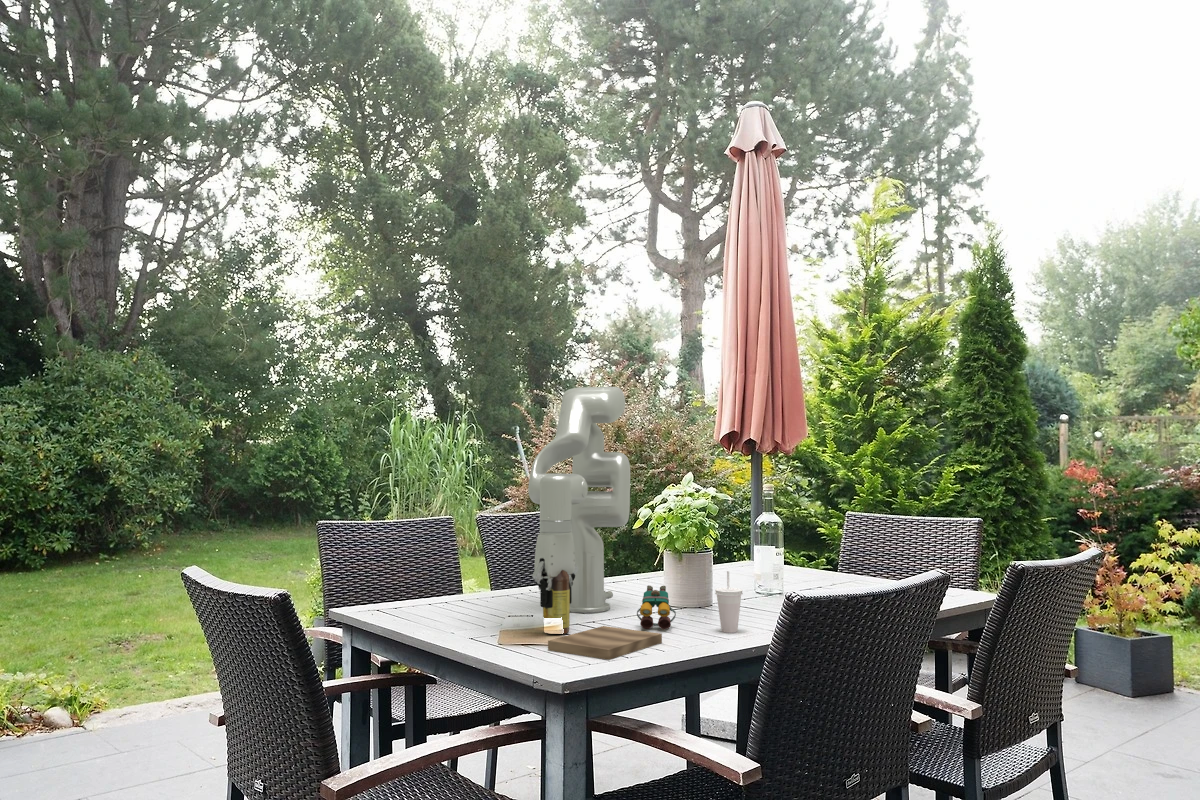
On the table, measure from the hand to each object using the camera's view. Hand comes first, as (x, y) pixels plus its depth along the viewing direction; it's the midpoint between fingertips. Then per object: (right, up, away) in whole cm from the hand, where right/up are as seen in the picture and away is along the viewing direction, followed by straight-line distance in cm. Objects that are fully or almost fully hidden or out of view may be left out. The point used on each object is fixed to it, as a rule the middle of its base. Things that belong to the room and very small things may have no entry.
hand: (556, 604), depth 211 cm
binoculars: (+24, -7, +5) cm, 25 cm away
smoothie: (+41, -7, +1) cm, 41 cm away
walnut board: (+12, -6, -15) cm, 20 cm away
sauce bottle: (0, -7, 0) cm, 7 cm away
